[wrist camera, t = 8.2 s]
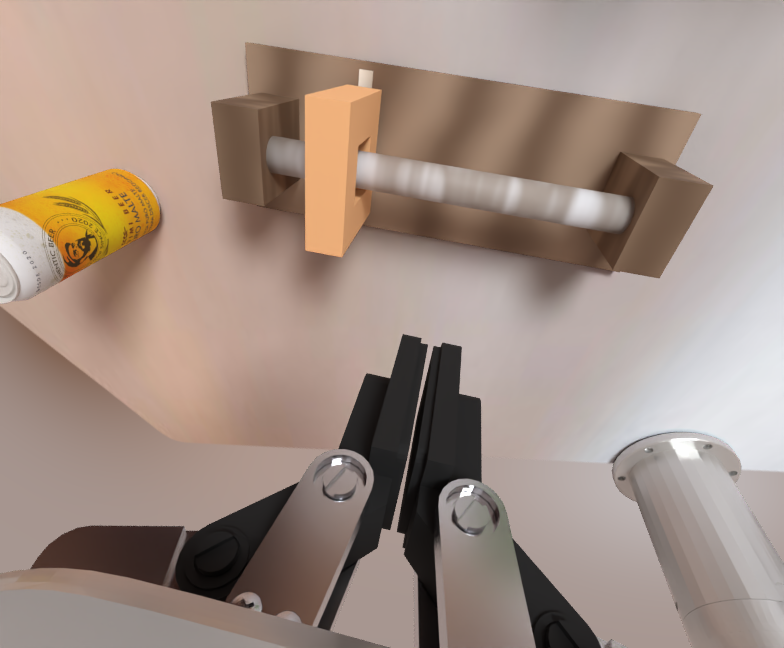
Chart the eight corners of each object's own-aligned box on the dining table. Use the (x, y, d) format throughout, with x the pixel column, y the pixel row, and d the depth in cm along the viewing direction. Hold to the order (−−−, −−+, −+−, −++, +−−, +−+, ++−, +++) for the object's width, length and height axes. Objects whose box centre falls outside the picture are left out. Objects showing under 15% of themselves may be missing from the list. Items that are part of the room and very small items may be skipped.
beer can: (171, 235, 40) (37, 316, 27) (114, 224, 40) (-44, 299, 28) (158, 172, 36) (-2, 233, 24) (95, 161, 36) (-94, 215, 24)
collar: (381, 90, 28) (350, 102, 21) (370, 212, 33) (341, 257, 26) (347, 84, 28) (304, 94, 21) (341, 207, 33) (305, 250, 26)
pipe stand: (695, 112, 27) (767, 131, 21) (616, 268, 34) (651, 318, 28) (250, 42, 29) (186, 39, 23) (261, 203, 36) (215, 236, 30)
